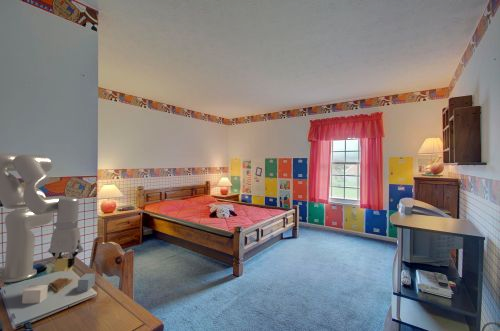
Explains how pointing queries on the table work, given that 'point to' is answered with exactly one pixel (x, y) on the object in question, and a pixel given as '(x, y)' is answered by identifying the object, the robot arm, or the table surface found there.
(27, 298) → the cream brick
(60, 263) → the mustard brick
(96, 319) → the table surface
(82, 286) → the slate brick
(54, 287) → the shard
